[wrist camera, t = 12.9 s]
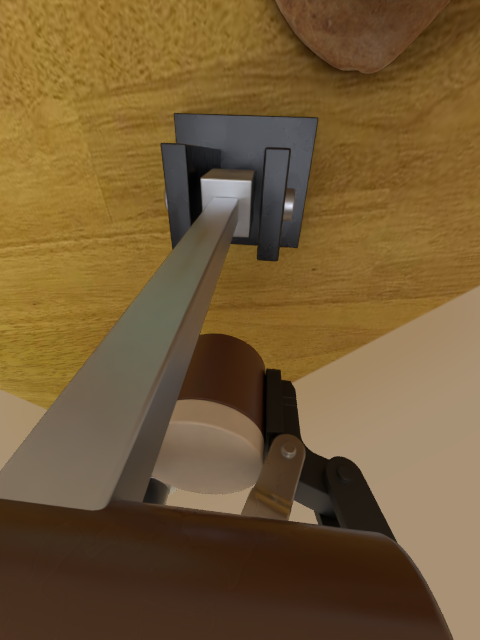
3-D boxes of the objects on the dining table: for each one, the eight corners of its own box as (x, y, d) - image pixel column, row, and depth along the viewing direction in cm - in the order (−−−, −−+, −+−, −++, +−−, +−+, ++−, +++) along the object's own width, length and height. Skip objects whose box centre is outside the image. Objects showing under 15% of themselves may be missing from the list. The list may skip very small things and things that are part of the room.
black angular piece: (296, 243, 21) (313, 299, 13) (188, 236, 21) (138, 286, 13) (315, 120, 16) (361, 83, 8) (179, 115, 17) (96, 77, 9)
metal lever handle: (384, 810, 2) (840, 1297, 1) (-277, 681, 2) (-1145, 750, 1) (287, 222, 14) (294, 171, 12) (180, 216, 14) (174, 166, 13)
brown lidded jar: (261, 405, 15) (259, 501, 11) (178, 396, 15) (144, 487, 11) (270, 337, 12) (271, 431, 8) (168, 329, 13) (118, 415, 8)
